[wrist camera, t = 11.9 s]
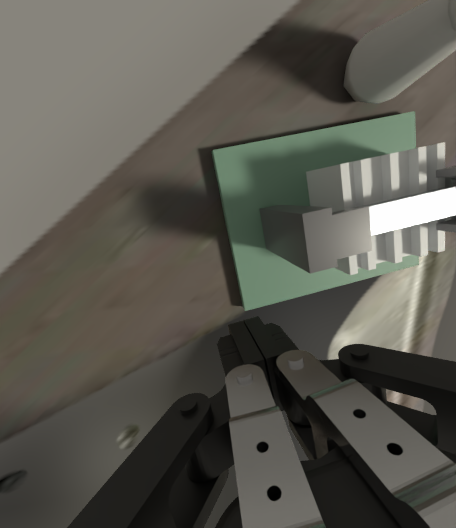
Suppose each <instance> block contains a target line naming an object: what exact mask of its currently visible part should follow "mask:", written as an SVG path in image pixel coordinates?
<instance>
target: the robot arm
mask: <svg viewBox="0 0 456 528" xmlns="http://www.w3.org/2000/svg"><path fill="white" fill-rule="evenodd" d="M228 329H229V333H230V335H228V336H225V337H221V338H220V339H219V341H218V344H217V346H218V349H219V354H220V358H221V361H222V365H223V369H224V373H225V377H226V384H225V385H224V387H223V389H222V390H221V391H220V392H219V393H217V394H216V395H214V396H213V397H211V398H208V397H207V396H205V395H204V394H201V393H192V394H188V395H185V396H183V397H181V398H180V399H178V400H177V401H176V402H175V403H174V404H173V405H172V406H171V407H170V408H169V409H168V411H167V412H166V413H165V414H164V416H163V417H162V418H161V419H160V420H159V421H158V422H157V424H156V425H155V426H154V427H153V428H152V429H151V431H150V432H149V433H148V434H147V435H146V436H145V438H144V439H143V440H142V441H141V442H140V443H139V444H138V446H137V447H136V448H135V449H134V450H133V452H132V453H131V454H130V455H129V456H128V457H127V459H126V460H125V461H124V462H123V463H122V464H121V465H120V467H119V468H118V469H117V470H116V471H115V472H114V474H113V475H112V476H111V477H110V478H109V479H108V481H107V482H106V483H105V484H104V485H103V487H102V488H101V489H100V490H99V491H98V492H97V494H96V495H95V496H94V497H93V498H92V499H91V501H90V502H89V503H88V504H87V505H86V506H85V508H84V509H83V510H82V511H81V512H80V513H79V515H78V516H77V517H76V518H75V519H74V520H73V522H72V523H71V524H70V525H69V526H68V528H204V526H205V524H206V522H207V519H208V518H209V516H210V513H211V511H212V509H213V507H214V505H215V503H216V501H217V499H218V497H219V495H220V493H221V491H222V488H223V487H224V485H225V482H226V480H227V478H228V468H230V467H231V466H232V465H234V464H235V472H236V480H237V487H238V494H239V496H238V497H237V498H236V499H235V500H234V501H233V502H232V503H231V504H230V505H229V506H228V508H227V509H226V510H225V512H224V513H223V515H222V516H221V518H220V520H219V522H218V523H217V525H216V527H215V528H456V362H454V361H448V360H443V359H438V358H433V357H427V356H422V355H417V354H412V353H406V352H401V351H396V350H391V349H385V348H380V347H375V346H370V345H364V344H352V345H348V346H345V347H343V348H342V349H341V350H340V351H339V353H338V356H339V359H335V360H322V361H321V360H318V359H316V358H315V357H314V356H313V355H312V354H311V353H309V352H307V351H303V350H299V349H298V348H297V347H296V346H295V344H294V343H293V342H292V341H291V339H290V338H289V337H288V336H287V335H286V333H284V331H283V330H282V329H281V328H280V326H278V325H275V324H273V323H269V324H266V325H264V324H263V322H262V321H261V320H260V318H259V317H258V316H257V317H254V318H250V319H246V320H244V321H239V322H236V323H233V324H229V325H228ZM386 389H389V390H392V391H396V392H399V393H403V394H407V395H410V396H414V397H417V398H421V399H424V400H426V401H427V402H429V403H430V404H431V405H433V407H434V408H435V410H436V413H437V415H430V414H427V413H424V412H421V411H417V410H414V409H411V408H408V407H404V406H401V405H398V404H395V403H391V402H388V401H387V399H386ZM283 410H285V412H286V414H287V418H288V423H289V427H290V429H291V431H292V432H293V434H294V436H295V437H296V439H297V441H298V442H299V444H300V445H301V447H302V449H303V451H304V452H305V454H306V455H307V457H308V459H309V460H308V461H300V460H299V457H298V455H297V452H296V450H295V447H294V444H293V442H292V439H291V437H290V434H289V431H288V429H287V426H286V424H285V421H284V418H283V416H282V413H281V411H283Z"/></svg>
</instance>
